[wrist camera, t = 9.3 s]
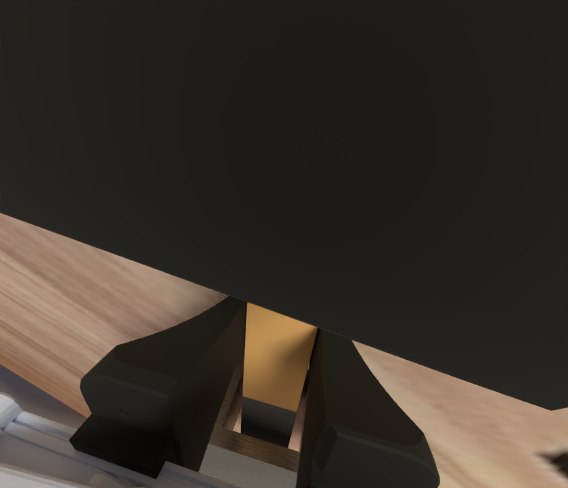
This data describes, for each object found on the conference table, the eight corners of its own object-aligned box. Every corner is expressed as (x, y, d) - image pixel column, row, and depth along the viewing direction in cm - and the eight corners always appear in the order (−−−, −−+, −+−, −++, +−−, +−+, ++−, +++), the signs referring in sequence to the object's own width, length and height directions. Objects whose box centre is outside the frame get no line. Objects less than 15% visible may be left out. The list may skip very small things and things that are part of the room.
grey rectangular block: (352, 411, 17) (360, 529, 12) (207, 370, 19) (159, 458, 13) (367, 379, 15) (383, 501, 10) (205, 336, 17) (148, 423, 12)
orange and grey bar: (293, 402, 18) (283, 466, 15) (257, 392, 19) (239, 452, 15) (323, 268, 12) (319, 321, 9) (271, 258, 13) (247, 304, 9)
